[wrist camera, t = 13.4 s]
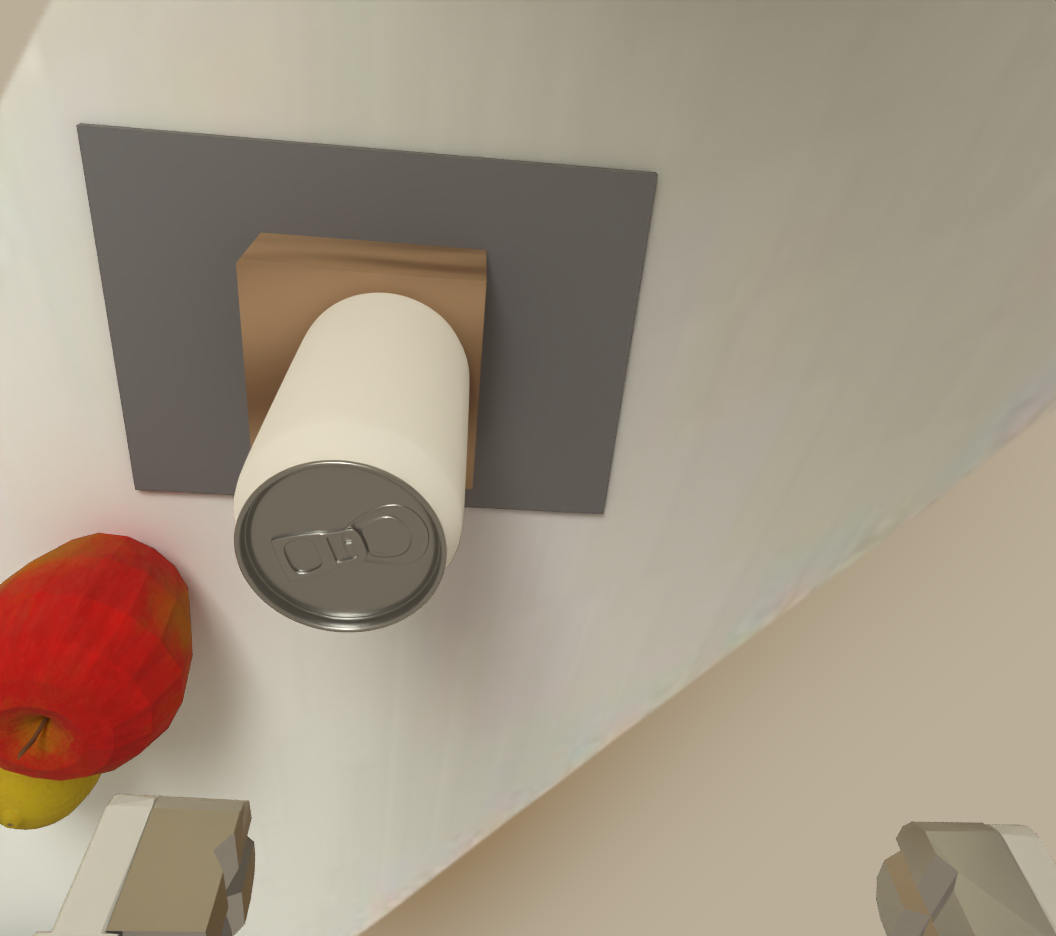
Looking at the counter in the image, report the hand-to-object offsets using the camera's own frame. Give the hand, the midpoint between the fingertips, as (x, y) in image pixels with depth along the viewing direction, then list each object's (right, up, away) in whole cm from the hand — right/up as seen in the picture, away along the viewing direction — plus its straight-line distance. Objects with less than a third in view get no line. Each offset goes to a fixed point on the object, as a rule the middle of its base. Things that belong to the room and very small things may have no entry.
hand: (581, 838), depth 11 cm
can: (-6, +9, +23) cm, 25 cm away
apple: (-20, 0, +33) cm, 38 cm away
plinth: (-7, +10, +26) cm, 29 cm away
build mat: (-7, +10, +27) cm, 30 cm away
